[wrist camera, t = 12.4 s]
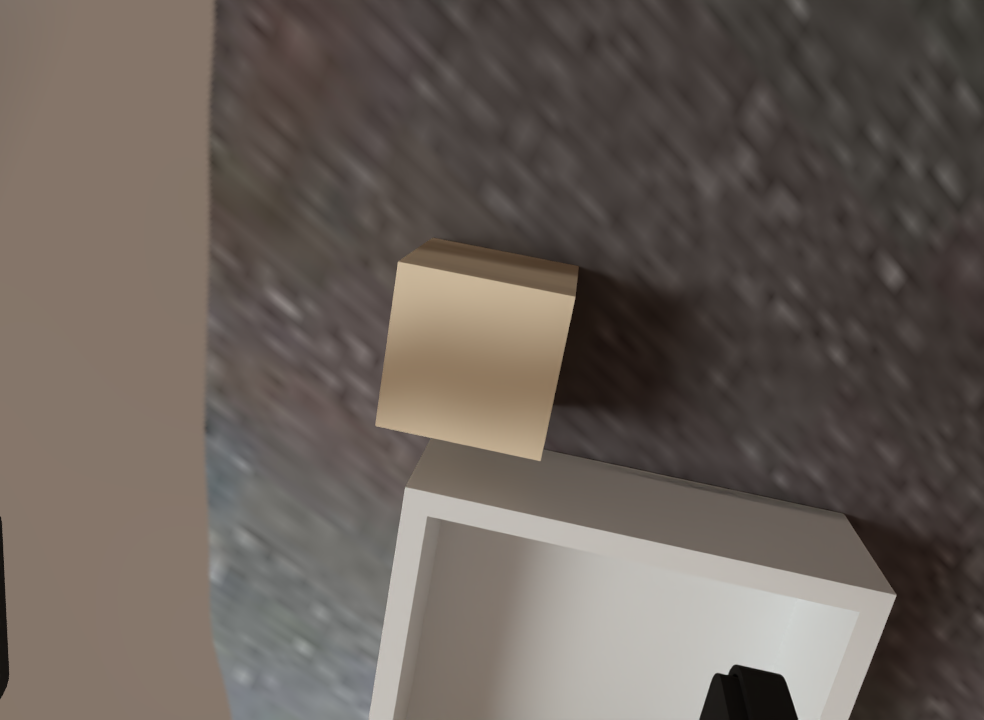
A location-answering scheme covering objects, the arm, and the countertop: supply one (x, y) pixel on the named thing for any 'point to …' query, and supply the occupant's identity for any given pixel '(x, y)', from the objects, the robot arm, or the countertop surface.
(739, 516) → the tote
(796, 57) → the countertop surface
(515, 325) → the wood cube
